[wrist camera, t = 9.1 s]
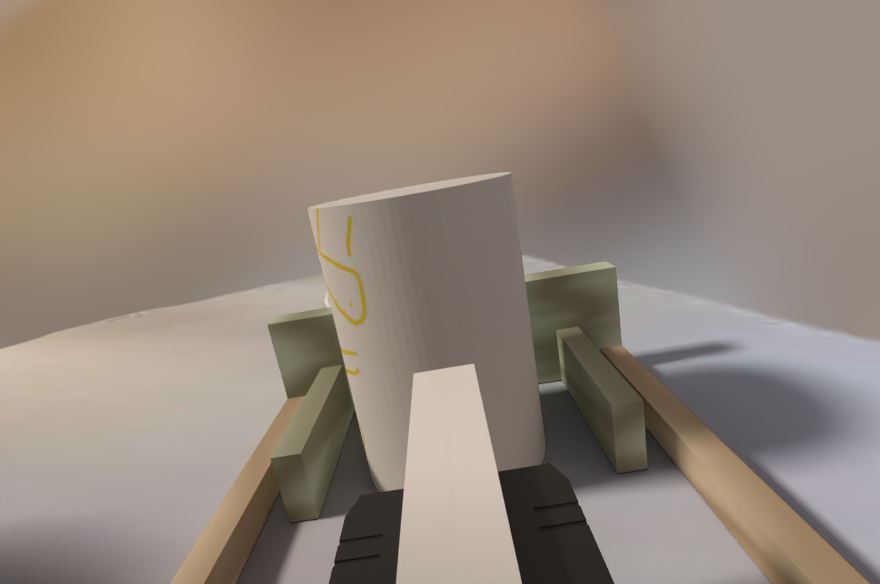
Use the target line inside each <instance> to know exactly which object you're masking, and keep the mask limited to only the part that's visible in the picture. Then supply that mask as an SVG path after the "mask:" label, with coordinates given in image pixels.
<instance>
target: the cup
mask: <svg viewBox="0 0 880 584" xmlns="http://www.w3.org/2000/svg"><path fill="white" fill-rule="evenodd" d="M308 212H309V217H310V221H311V225H312V230H313V234H314V238H315V242H316V246H317V251H318V255H319V259H320V263H321V267H322V271H323V276H324V280H325V284H326V288H327V293H328V297H329V301H330V305H331V309H332V314H333V318H334V322H335V326H336V330H337V335H338V339H339V343H340V347H341V351H342V356H343V360H344V364H345V368H346V372H347V377H348V381H349V385H350V389H351V393H352V398H353V402H354V406H355V410H356V414H357V419H358V423H359V427H360V431H361V435H362V440H363V444H364V448H365V452H366V456H367V461H368V465H369V469H370V473H371V477H372V480H373V483H374V485H375V486H376V488H377V489H378V490H379V492H385V491H391V490H397V489H404V482H405V470H406V459H407V447H408V435H409V423H410V411H411V399H412V387H413V376H414V373H420V372H426V371H432V370H438V369H444V368H450V367H456V366H462V365H468V364H474V366H475V371H476V376H477V380H478V385H479V389H480V394H481V399H482V403H483V408H484V412H485V417H486V421H487V426H488V431H489V435H490V440H491V444H492V449H493V453H494V458H495V463H496V467H497V472H498V471H504V470H511V469H517V468H523V467H529V466H536V465H541V464H542V462H543V460H544V457H545V452H546V442H545V434H544V426H543V418H542V411H541V403H540V395H539V387H538V379H537V371H536V364H535V356H534V348H533V340H532V332H531V324H530V316H529V309H528V301H527V293H526V285H525V277H524V269H523V262H522V254H521V246H520V238H519V231H518V223H517V215H516V207H515V199H514V192H513V183H512V175H511V172H503V173H494V174H486V175H478V176H471V177H465V178H459V179H452V180H445V181H439V182H433V183H427V184H422V185H416V186H410V187H404V188H399V189H393V190H388V191H382V192H377V193H372V194H367V195H362V196H357V197H352V198H347V199H342V200H337V201H333V202H328V203H324V204H320V205H316V206H312V207H309V208H308Z"/></svg>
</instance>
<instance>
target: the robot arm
mask: <svg viewBox="0 0 880 584" xmlns="http://www.w3.org/2000/svg"><path fill="white" fill-rule="evenodd" d="M339 541H340V545H339V546H338V548H337V553H336V557H335V561H334V562H335V566H334V567H333V569H332V573H331V577H330V581H329V584H614V582H613V580H612V577H611V575H610V573H609V570H608V568H607V566H606V564H605V561H604V559H603V557H602V555H601V552H600V550H599V548H598V545H597V543H596V541H595V539H594V536H593V534H592V532H591V530H590V527H589V525H587V522H586V518H585V516H584V514H583V511H582V509H581V507H580V506H579V504H578V500H577V498H576V496H575V493H574V491H573V489H572V486H571V484H570V482H569V480H568V479H567V478H566V477H565V476H564V475H563V474H561V473H560V472H559V471H558V470H557V469H555V468H554V467H553V466H552V465H551V464H549V463H548V464H542V465H536V466H529V467H523V468H517V469H511V470H504V471H498V472H497V467H496V463H495V458H494V453H493V449H492V444H491V440H490V435H489V431H488V426H487V421H486V417H485V412H484V408H483V403H482V399H481V394H480V389H479V385H478V380H477V376H476V371H475V366H474V364H468V365H462V366H456V367H450V368H444V369H438V370H432V371H426V372H420V373H414V376H413V387H412V399H411V411H410V423H409V435H408V447H407V459H406V470H405V482H404V489H397V490H391V491H385V492H378V493H372V494H366V495H361V496H360V497H359V499H358V500H357V502H356V503H355V504H354V506H353V507H352V508H351V510H350V511H349V512H348V514H347V515H346V517H345V520H344V524H343V528H342V532H341V536H340V540H339Z"/></svg>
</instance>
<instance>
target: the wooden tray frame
mask: <svg viewBox="0 0 880 584" xmlns="http://www.w3.org/2000/svg"><path fill="white" fill-rule="evenodd" d="M524 277H525V285H526V293H527V301H528V309H529V316H530V324H531V332H532V340H533V348H534V356H535V364H536V371H537V379H538V383H544V382H550V381H557V380H562V381H563V383H564V384H565V386H566V388H567V389H568V391H569V393H570V394H571V396H572V398H573V399H574V401H575V403H576V405H577V406H578V408H579V410H580V411H581V413H582V415H583V416H584V418H585V420H586V421H587V423H588V425H589V427H590V428H591V430H592V432H593V433H594V435H595V437H596V438H597V440H598V442H599V443H600V445H601V447H602V449H603V450H604V452H605V454H606V455H607V457H608V459H609V460H610V462H611V464H612V465H613V467H614V469H615V471H616V472H617V473H623V472H629V471H636V470H642V469H648V465H647V450H646V435H645V427H646V428H647V429H648V430H649V432H650V433H651V434H652V435H653V437H654V438H655V439H656V440H657V442H658V443H659V444H660V445H661V447H662V448H663V449H664V450H665V452H666V453H667V454H668V455H669V457H670V458H671V459H672V460H673V461H674V463H675V464H676V465H677V466H678V468H679V469H680V470H681V471H682V473H683V474H684V475H685V476H686V478H687V479H688V480H689V481H690V483H691V484H692V485H693V486H694V488H695V489H696V490H697V491H698V492H699V494H700V495H701V496H702V497H703V499H704V500H705V501H706V502H707V504H708V505H709V506H710V507H711V509H712V510H713V511H714V512H715V514H716V515H717V516H718V517H719V519H720V520H721V521H722V522H723V524H724V525H725V526H726V527H727V528H728V530H729V531H730V532H731V533H732V535H733V536H734V537H735V538H736V540H737V541H738V542H739V543H740V545H741V546H742V547H743V548H744V550H745V551H746V552H747V553H748V555H749V556H750V557H751V558H752V560H753V561H754V562H755V563H756V564H757V566H758V567H759V568H760V569H761V571H762V572H763V573H764V574H765V576H766V577H767V578H768V579H769V581H770V582H771V583H772V584H870V583H869V582H868V581H867V580H866V579H865V578H864V577H862V576H861V575H860V574H859V573H858V572H857V571H856V570H855V569H854V568H853V567H852V566H851V565H850V564H849V563H848V562H847V561H846V560H845V559H844V558H843V557H842V556H841V555H840V554H839V553H838V552H836V551H835V550H834V549H833V548H832V547H831V546H830V545H829V544H828V543H827V542H826V541H825V540H824V539H823V538H822V537H821V536H820V535H819V534H818V533H817V532H816V531H815V530H814V529H813V528H811V527H810V526H809V525H808V524H807V523H806V522H805V521H804V520H803V519H802V518H801V517H800V516H799V515H798V514H797V513H796V512H795V511H794V510H793V509H792V508H791V507H790V506H789V505H788V504H787V503H785V502H784V501H783V500H782V499H781V498H780V497H779V496H778V495H777V494H776V493H775V492H774V491H773V490H772V489H771V488H770V487H769V486H768V485H767V484H766V483H765V482H764V481H763V480H762V479H760V478H759V477H758V476H757V475H756V474H755V473H754V472H753V471H752V470H751V469H750V468H749V467H748V466H747V465H746V464H745V463H744V462H743V461H742V460H741V459H740V458H739V457H738V456H737V455H736V454H734V453H733V452H732V451H731V450H730V449H729V448H728V447H727V446H726V445H725V444H724V443H723V442H722V441H721V440H720V439H719V438H718V437H717V436H716V435H715V434H714V433H713V432H712V431H711V430H709V429H708V428H707V427H706V426H705V425H704V424H703V423H702V422H701V421H700V420H699V419H698V418H697V417H696V416H695V415H694V414H693V413H692V412H691V411H690V410H689V409H688V408H687V407H686V406H685V405H683V404H682V403H681V402H680V401H679V400H678V399H677V398H676V397H675V396H674V395H673V394H672V393H671V392H670V391H669V390H668V389H667V388H666V387H665V386H664V385H663V384H662V383H661V382H660V381H658V380H657V379H656V378H655V377H654V376H653V375H652V374H651V373H650V372H649V371H648V370H647V369H646V368H645V367H644V366H643V365H642V364H641V363H640V362H639V361H638V360H637V359H636V358H635V357H634V356H632V355H631V354H630V353H629V352H628V351H627V350H626V349H625V348H624V347H623V346H622V341H621V328H620V315H619V302H618V289H617V276H616V267H615V266H613V265H612V264H610V263H608V262H600V263H593V264H588V265H581V266H575V267H569V268H563V269H557V270H551V271H545V272H539V273H533V274H527V275H524ZM268 328H269V332H270V336H271V339H272V343H273V346H274V350H275V354H276V357H277V361H278V364H279V368H280V372H281V375H282V379H283V383H284V386H285V390H286V393H287V397H288V399H287V401H286V403H285V404H284V406H283V407H282V409H281V410H280V412H279V414H278V415H277V417H276V418H275V420H274V421H273V423H272V425H271V426H270V428H269V429H268V431H267V432H266V434H265V435H264V437H263V439H262V440H261V442H260V443H259V445H258V446H257V448H256V450H255V451H254V453H253V454H252V456H251V457H250V459H249V461H248V462H247V464H246V465H245V467H244V468H243V470H242V472H241V473H240V475H239V476H238V478H237V479H236V481H235V483H234V484H233V486H232V487H231V489H230V490H229V492H228V494H227V495H226V497H225V498H224V500H223V501H222V503H221V505H220V506H219V508H218V509H217V511H216V512H215V514H214V515H213V517H212V519H211V520H210V522H209V523H208V525H207V526H206V528H205V530H204V531H203V533H202V534H201V536H200V537H199V539H198V541H197V542H196V544H195V545H194V547H193V548H192V550H191V552H190V553H189V555H188V556H187V558H186V559H185V561H184V563H183V564H182V566H181V567H180V569H179V570H178V572H177V574H176V575H175V577H174V578H173V580H172V581H171V583H170V584H236V582H237V580H238V577H239V575H240V573H241V571H242V569H243V567H244V565H245V563H246V561H247V559H248V557H249V555H250V552H251V550H252V548H253V546H254V544H255V542H256V540H257V538H258V536H259V534H260V532H261V530H262V528H263V525H264V523H265V521H266V519H267V517H268V515H269V513H270V511H271V509H272V507H273V505H274V503H275V500H276V498H277V496H278V494H279V492H280V493H281V496H282V499H283V503H284V506H285V509H286V513H287V516H288V520H289V523H291V522H298V521H304V520H311V519H318V518H319V516H320V513H321V510H322V507H323V504H324V501H325V498H326V495H327V492H328V489H329V486H330V483H331V480H332V477H333V474H334V471H335V468H336V465H337V462H338V459H339V456H340V453H341V450H342V447H343V444H344V441H345V438H346V435H347V432H348V429H349V426H350V423H351V420H352V417H353V414H354V413H355V412H356V410H355V406H354V402H353V398H352V393H351V389H350V385H349V381H348V377H347V372H346V368H345V364H344V360H343V356H342V351H341V347H340V343H339V339H338V335H337V330H336V326H335V322H334V318H333V314H332V309H331V307H329V308H323V309H317V310H311V311H305V312H299V313H293V314H287V315H281V316H276V317H275V318H274V319H273V320H272V321H271V322H270V323H269V324H268Z"/></svg>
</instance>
